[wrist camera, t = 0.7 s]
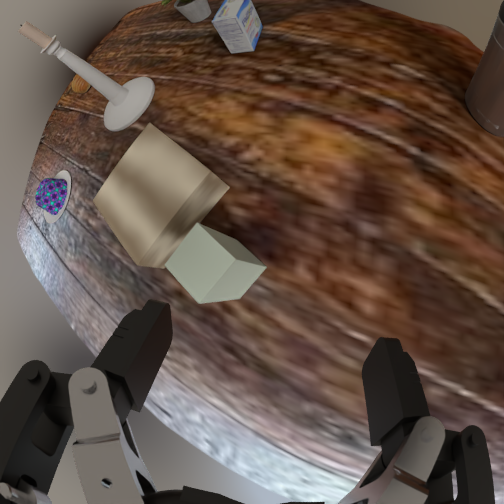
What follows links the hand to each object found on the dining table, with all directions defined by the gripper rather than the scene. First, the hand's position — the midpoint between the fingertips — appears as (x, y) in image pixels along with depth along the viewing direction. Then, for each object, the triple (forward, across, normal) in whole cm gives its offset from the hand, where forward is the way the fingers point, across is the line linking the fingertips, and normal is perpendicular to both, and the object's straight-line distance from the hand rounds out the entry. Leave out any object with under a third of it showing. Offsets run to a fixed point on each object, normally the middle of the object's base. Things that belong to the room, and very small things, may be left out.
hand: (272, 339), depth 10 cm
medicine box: (+43, +10, -22) cm, 49 cm away
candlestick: (+42, +32, -9) cm, 53 cm away
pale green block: (+20, +4, +10) cm, 23 cm away
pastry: (+54, +55, -16) cm, 79 cm away
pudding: (+35, +47, +10) cm, 59 cm away
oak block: (+28, +16, +6) cm, 33 cm away
